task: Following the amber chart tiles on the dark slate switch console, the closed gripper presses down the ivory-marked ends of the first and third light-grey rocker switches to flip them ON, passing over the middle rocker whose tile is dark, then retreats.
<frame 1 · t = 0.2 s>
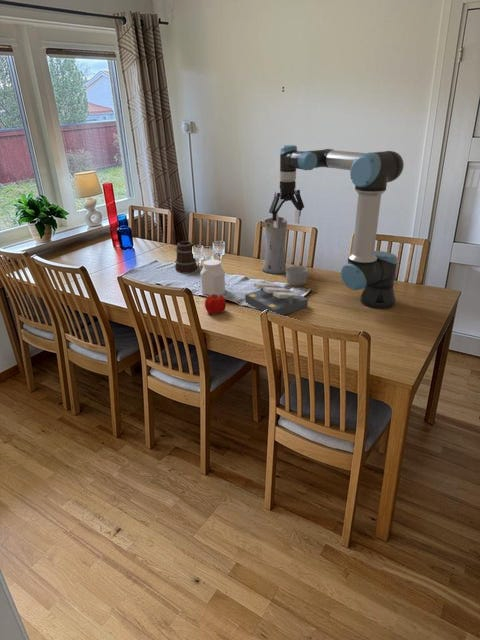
hand: (286, 225, 217), 28 cm above the table, fingers open, 13 cm apart
rocker 3: (266, 285, 201), point 7 cm above the table, hinge at 15.0°
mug: (188, 268, 246), on the table
rocker 2: (276, 290, 196), point 7 cm above the table, hinge at 15.0°
console: (276, 304, 199), on the table
rocker 1: (286, 295, 191), point 7 cm above the table, hinge at 15.0°
jar: (213, 292, 215), on the table
tomato: (216, 312, 193), on the table
vase: (274, 271, 239), on the table
teacup: (296, 283, 223), on the table
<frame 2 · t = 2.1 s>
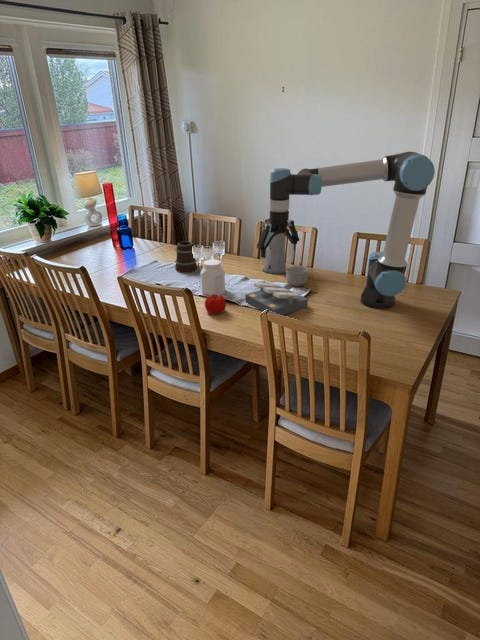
hand: (278, 261, 182), 23 cm above the table, fingers open, 13 cm apart
nothing on the table moved.
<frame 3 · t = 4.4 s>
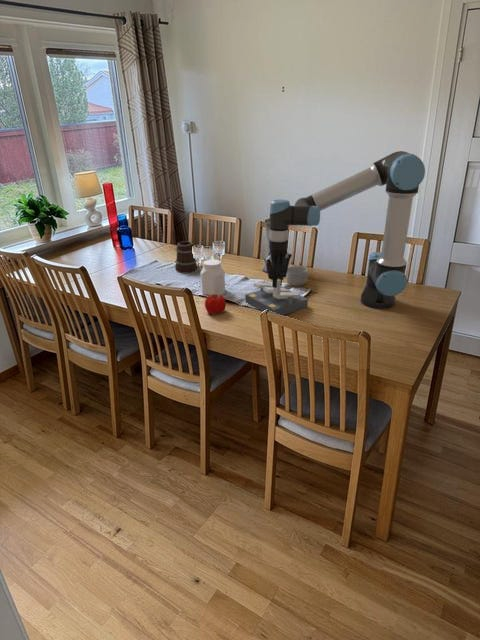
hand: (276, 293, 187), 9 cm above the table, fingers closed
rocker 1: (286, 295, 191), point 7 cm above the table, hinge at 12.1°, touching gripper
everything else where it was.
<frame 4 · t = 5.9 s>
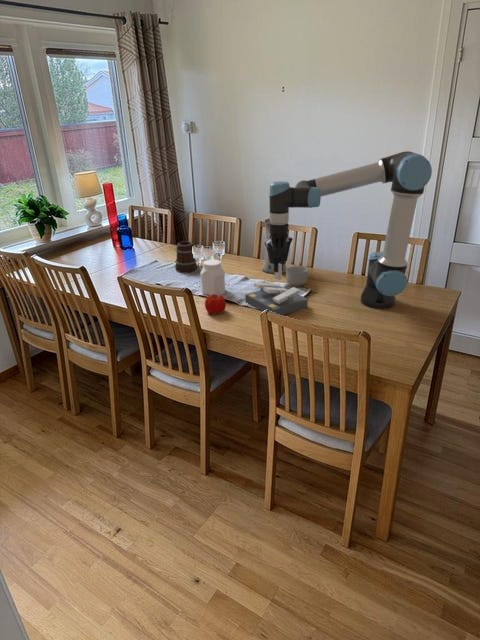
hand: (278, 278, 184), 16 cm above the table, fingers closed
rocker 1: (286, 295, 191), point 7 cm above the table, hinge at -10.7°
everything else where it was.
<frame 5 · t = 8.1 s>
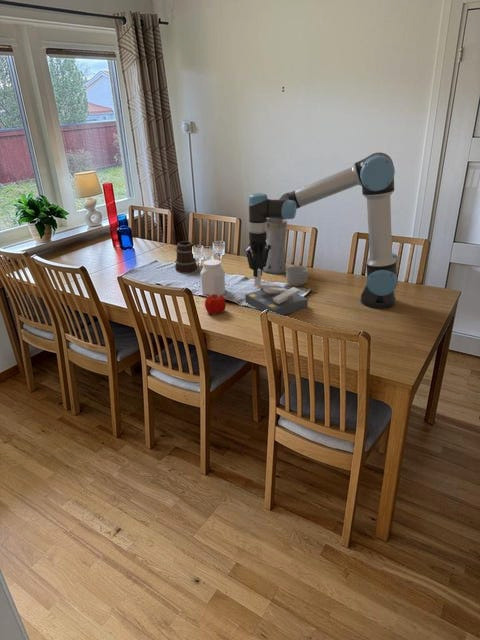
hand: (257, 282, 198), 10 cm above the table, fingers closed
rocker 3: (266, 285, 201), point 7 cm above the table, hinge at 15.0°, touching gripper
everything else where it was.
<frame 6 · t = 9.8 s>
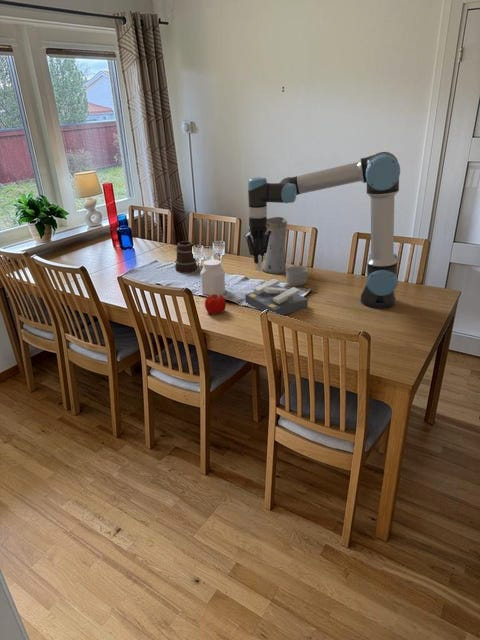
hand: (258, 269, 195), 16 cm above the table, fingers closed
rocker 3: (266, 285, 201), point 7 cm above the table, hinge at -10.2°
everything else where it was.
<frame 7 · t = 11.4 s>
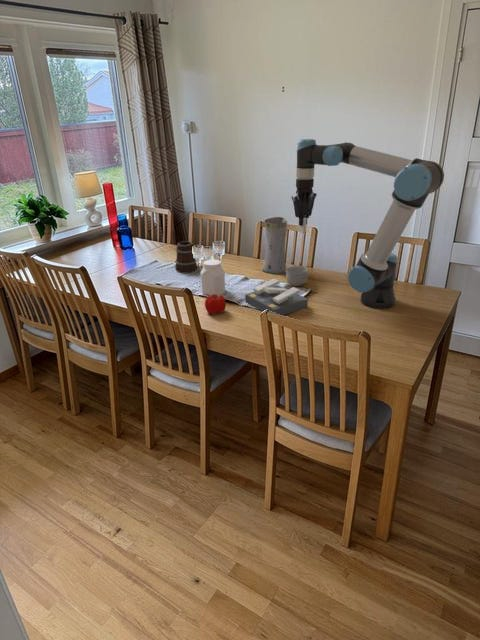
hand: (302, 232, 199), 29 cm above the table, fingers closed
nothing on the table moved.
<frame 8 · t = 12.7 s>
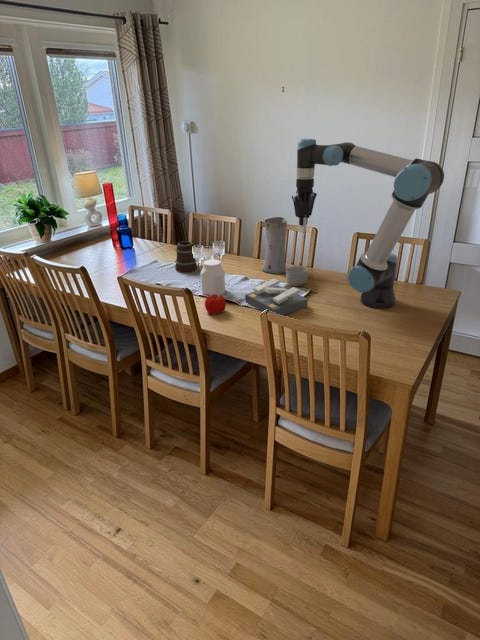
hand: (302, 232, 199), 29 cm above the table, fingers closed
nothing on the table moved.
at the end: rocker 1 at -11° (first picture: +15°); rocker 3 at -10° (first picture: +15°); rocker 2 at +15° (first picture: +15°) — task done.
